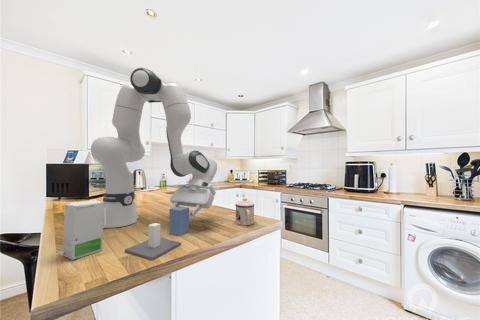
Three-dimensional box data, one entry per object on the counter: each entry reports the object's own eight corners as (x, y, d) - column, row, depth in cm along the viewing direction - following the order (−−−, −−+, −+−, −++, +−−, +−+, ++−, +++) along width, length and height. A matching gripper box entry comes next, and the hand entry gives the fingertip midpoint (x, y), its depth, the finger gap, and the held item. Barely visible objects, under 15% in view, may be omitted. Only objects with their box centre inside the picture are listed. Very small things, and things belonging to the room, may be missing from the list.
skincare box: (71, 261, 57) (72, 206, 57) (61, 255, 60) (62, 203, 60) (103, 250, 64) (104, 201, 64) (93, 245, 67) (94, 199, 67)
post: (124, 252, 62) (125, 227, 63) (155, 238, 73) (156, 217, 73) (152, 260, 57) (152, 233, 57) (181, 245, 68) (181, 222, 68)
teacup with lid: (233, 220, 98) (233, 196, 98) (251, 219, 100) (251, 196, 100) (238, 228, 86) (238, 201, 86) (258, 227, 88) (258, 200, 88)
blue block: (169, 233, 79) (169, 208, 79) (178, 229, 84) (179, 206, 84) (179, 235, 77) (180, 210, 77) (189, 231, 81) (189, 207, 82)
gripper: (176, 182, 93) (160, 207, 84) (213, 184, 85) (199, 212, 76) (183, 190, 97) (167, 215, 88) (219, 193, 89) (206, 221, 80)
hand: (182, 214), depth 82 cm, fingers open, 8 cm apart
